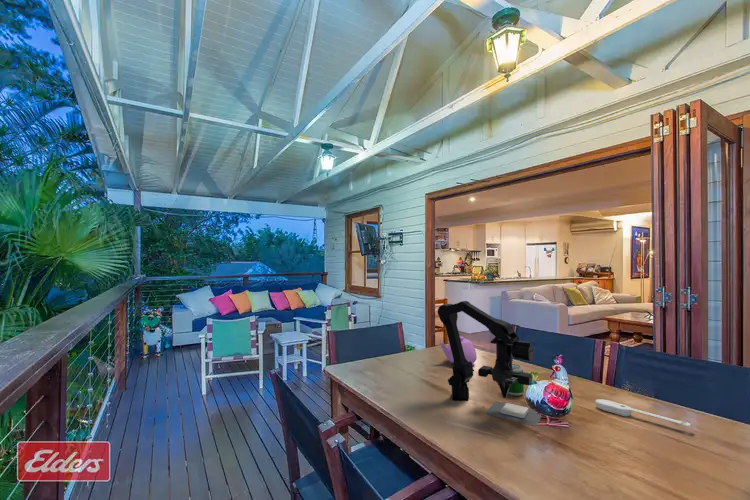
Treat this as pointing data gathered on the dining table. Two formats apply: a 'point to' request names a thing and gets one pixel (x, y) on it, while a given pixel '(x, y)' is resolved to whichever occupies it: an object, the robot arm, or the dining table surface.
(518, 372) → the soda can
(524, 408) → the tile
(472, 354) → the teapot
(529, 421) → the mat
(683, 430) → the dining table surface
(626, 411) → the spatula
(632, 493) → the dining table surface
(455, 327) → the robot arm
